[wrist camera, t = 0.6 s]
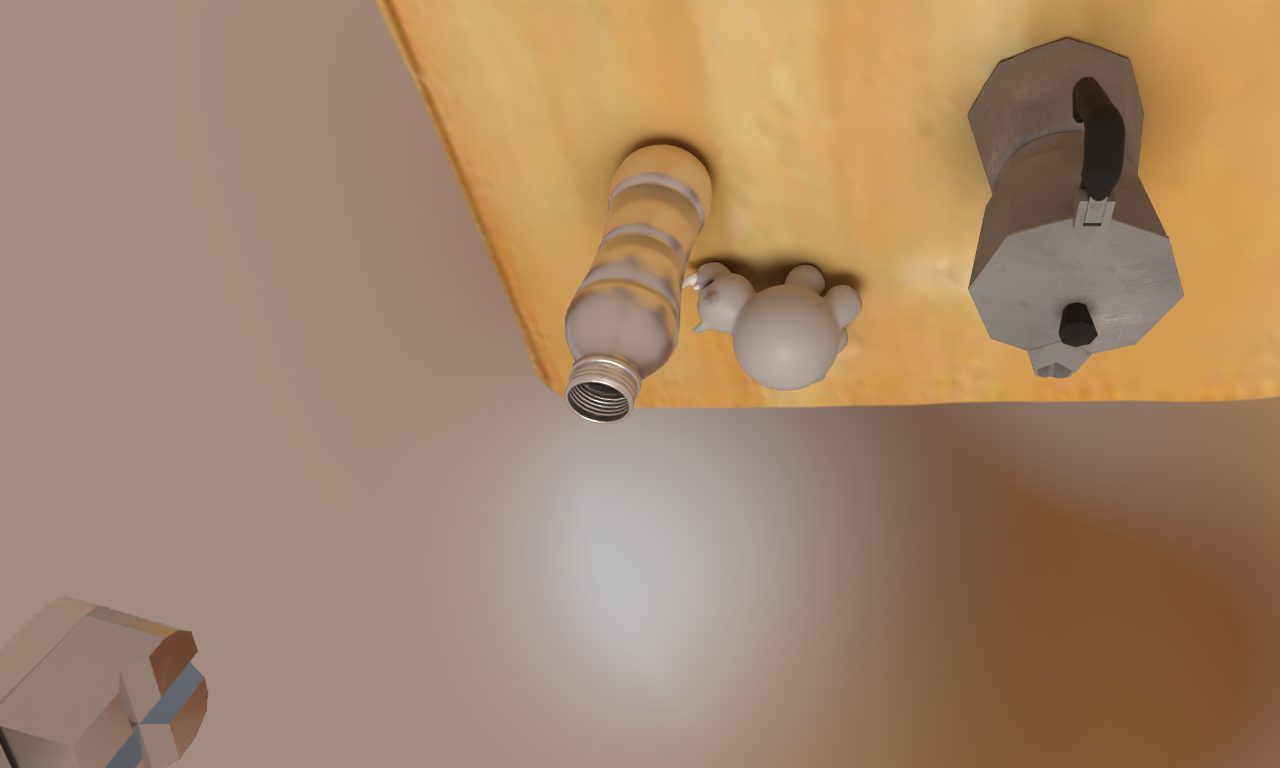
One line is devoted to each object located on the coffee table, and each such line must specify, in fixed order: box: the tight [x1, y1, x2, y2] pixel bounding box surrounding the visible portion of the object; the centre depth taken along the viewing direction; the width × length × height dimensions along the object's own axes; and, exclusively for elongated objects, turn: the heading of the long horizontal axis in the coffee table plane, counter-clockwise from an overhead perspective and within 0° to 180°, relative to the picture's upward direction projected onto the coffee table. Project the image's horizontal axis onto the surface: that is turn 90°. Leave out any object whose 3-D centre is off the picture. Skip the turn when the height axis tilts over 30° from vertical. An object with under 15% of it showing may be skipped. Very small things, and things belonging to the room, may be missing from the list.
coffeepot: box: [968, 38, 1184, 378], centre depth 49 cm, size 15×9×18 cm, turn 9°
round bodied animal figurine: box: [682, 262, 862, 391], centre depth 67 cm, size 7×12×8 cm, turn 80°
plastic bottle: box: [565, 144, 712, 424], centre depth 58 cm, size 6×7×20 cm
